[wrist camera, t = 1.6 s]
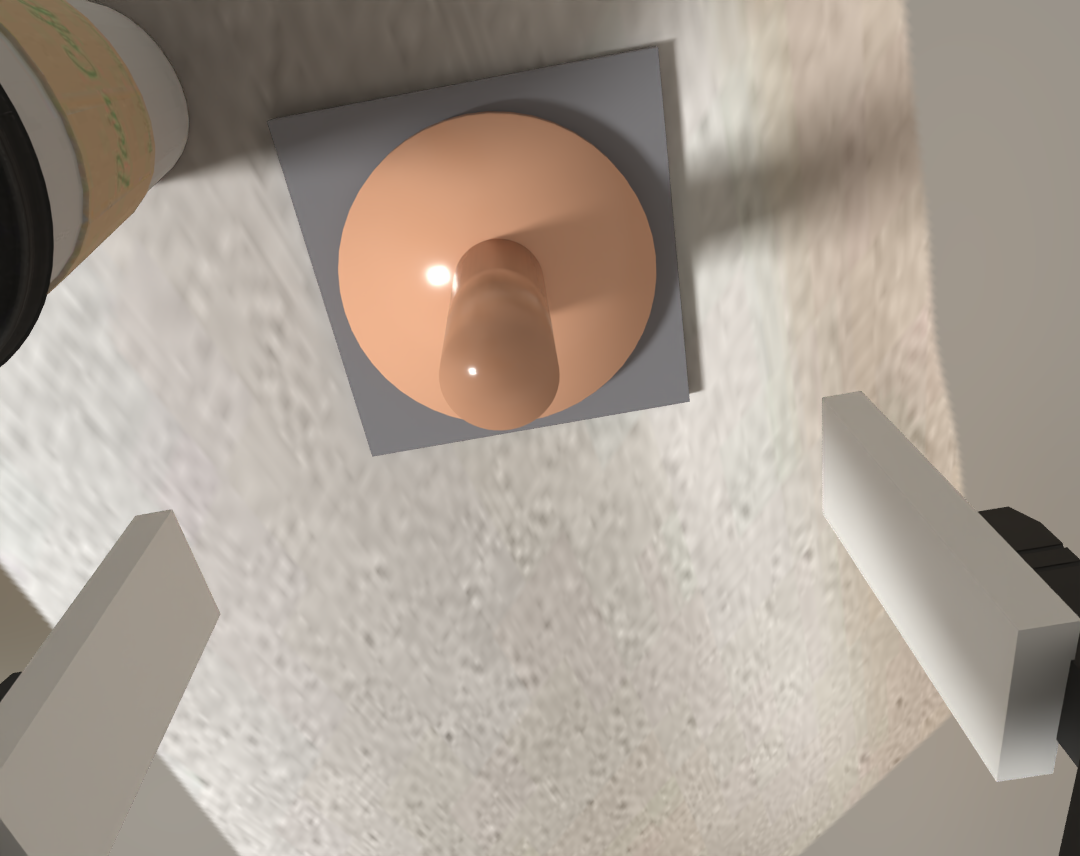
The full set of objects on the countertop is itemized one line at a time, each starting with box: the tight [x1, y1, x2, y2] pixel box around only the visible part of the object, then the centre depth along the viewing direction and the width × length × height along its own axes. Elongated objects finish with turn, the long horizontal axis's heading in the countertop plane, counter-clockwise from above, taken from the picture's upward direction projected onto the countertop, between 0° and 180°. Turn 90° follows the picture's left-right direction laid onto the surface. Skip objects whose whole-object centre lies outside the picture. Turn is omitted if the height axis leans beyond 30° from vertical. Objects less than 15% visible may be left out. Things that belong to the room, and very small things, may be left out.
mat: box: [267, 46, 690, 456], centre depth 29 cm, size 13×13×1 cm
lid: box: [338, 111, 656, 430], centre depth 25 cm, size 11×11×9 cm
